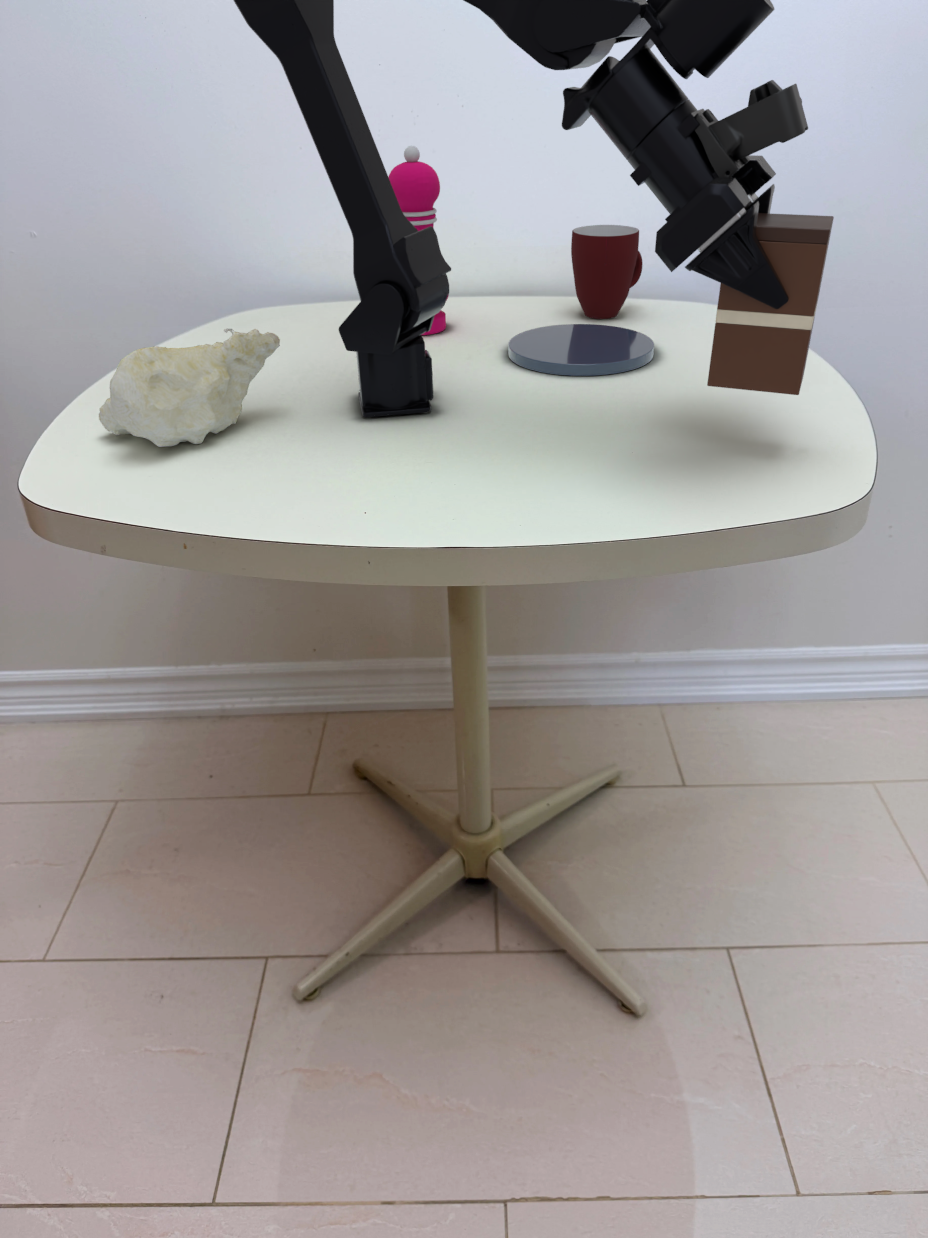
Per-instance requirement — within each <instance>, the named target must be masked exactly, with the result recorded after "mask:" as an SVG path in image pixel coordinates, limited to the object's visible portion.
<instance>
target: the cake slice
mask: <svg viewBox="0 0 928 1238" xmlns="http://www.w3.org/2000/svg"><path fill="white" fill-rule="evenodd" d="M834 218H835V217H834V216H833V215H815V214H792V213H791V214H789V213H788V214H787V213H770V214H768V213H758V218H757V225H756V236H757V238H758V240H759V242H760V244H761V245H762V247H763V249H764V251H765V253H766V255H767V257H768V258H769V260H770V262H771V264H772V266H773V268H774V270H775V272H776V273H777V275H778V277H779V279H780V281H781V283H782V285H783V287H784V289H785V291H786V293H787V295H788V297H789V300H788V302H787V303H786V304H784V305H783V306H782V307H780V308H779V309H774V308H772V307H770V306H768V305H766V304H764V303H762V302H760V301H758V300H756V299H754V298H752V297H750V296H748V295H746V294H743V293H741V292H739V291H737V290H735V289H733V288H731V287H729V286H727V285H724V284H722V283H720V284H719V293H718V300H717V301H718V302H717V307H716V308H717V309H716V315H715V323H714V330H713V337H712V338H713V339H712V346H711V353H710V359H709V360H710V361H709V367H708V376H707V384H706V386H707V387H714V388H724V389H732V390H742V391H743V390H744V391H753V392H761V393H773V394H782V395H792V396H799V395H800V391H801V387H802V384H803V381H804V380H803V379H804V375H805V369H806V365H807V360H808V354H809V349H810V346H811V345H810V344H811V340H812V339H811V338H812V334H813V329H814V323H815V318H816V312H817V307H818V302H819V298H820V292H821V286H822V282H823V277H824V270H825V267H826V266H825V265H826V262H827V261H826V260H827V255H828V251H829V244H830V238H831V234H832V230H833V229H832V228H833V225H834V223H833V222H834Z"/></svg>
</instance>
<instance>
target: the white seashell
mask: <svg viewBox="0 0 928 1238" xmlns="http://www.w3.org/2000/svg"><path fill="white" fill-rule="evenodd" d="M223 332H224V333H225V334H226V333H228V332H230V333H231V336H230V337H229V338H227V339H226V340H224V341H223V342H220V341H216V342H215V343H214V344H208V343H205V344H199V345H194V346H189V347H167V346H165V347H164V346H155V345H154V346H151V347H142V348H138V349H135V350H133V351H131V352H130V353H128V354H127V355H126V356H124V357H123V358H122V359H120V361H119V363H118V365H117V367H116V371H115V372H114V373H113V375H112V377H111V379H110V381H109V396H110V397H109V398H107V399H106V400H105V401H104V404H102V405H101V406H100V407H99V409H98V410H99V413H98V420H99V422H100V424H101V425H102V426H103V428H104V430H106V431H107V432H110V433H112V434H114V435H115V436H119V435H132V436H133V437H138V438H144V439H146V440H148V441H150V442H152V444H154V445H155V446H156V447H159V448H161V447H175V446H177V445H179V444H180V443H185V442H189V443H190V444H194V445H198V444H200V445H201V444H203V442H204V440H205V438H206V436H207V435H208V433H213V434H214V435H215V434H219V433H220V432H224V431H225V430H226V429H227V428H228V427H230V426H231V425H236V424H237V422H238V418H239V417H240V415H241V413H242V410H243V401H244V400H245V398H246V396H247V395H248V390H249V388H250V387H249V386H250V384H251V382H252V381H253V380H255V378H256V376H257V375H258V373H260V371H261V370H262V369H263V368H264V366H265V363H266V361H267V358H269V357H271V356H272V355H273V354H274V353H275V351H276V350H277V349H278V348H279V347H281V344H280V343H281V339H280V337H279V335H277V334H275V333H274V332H270V331H267V332H264V333H261V332H260V330H259V329H258V328H253V329H252V330H250V331H248V332H246V333H245V332H238V331H235V330H234V329H233V328H224V329H223Z"/></svg>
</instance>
